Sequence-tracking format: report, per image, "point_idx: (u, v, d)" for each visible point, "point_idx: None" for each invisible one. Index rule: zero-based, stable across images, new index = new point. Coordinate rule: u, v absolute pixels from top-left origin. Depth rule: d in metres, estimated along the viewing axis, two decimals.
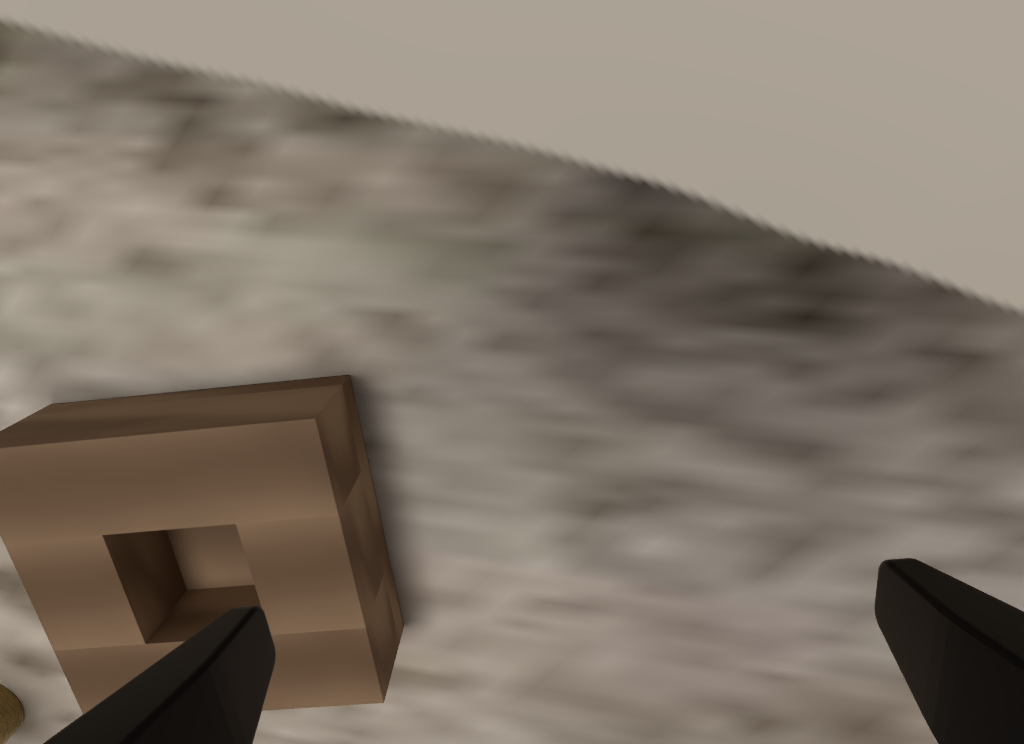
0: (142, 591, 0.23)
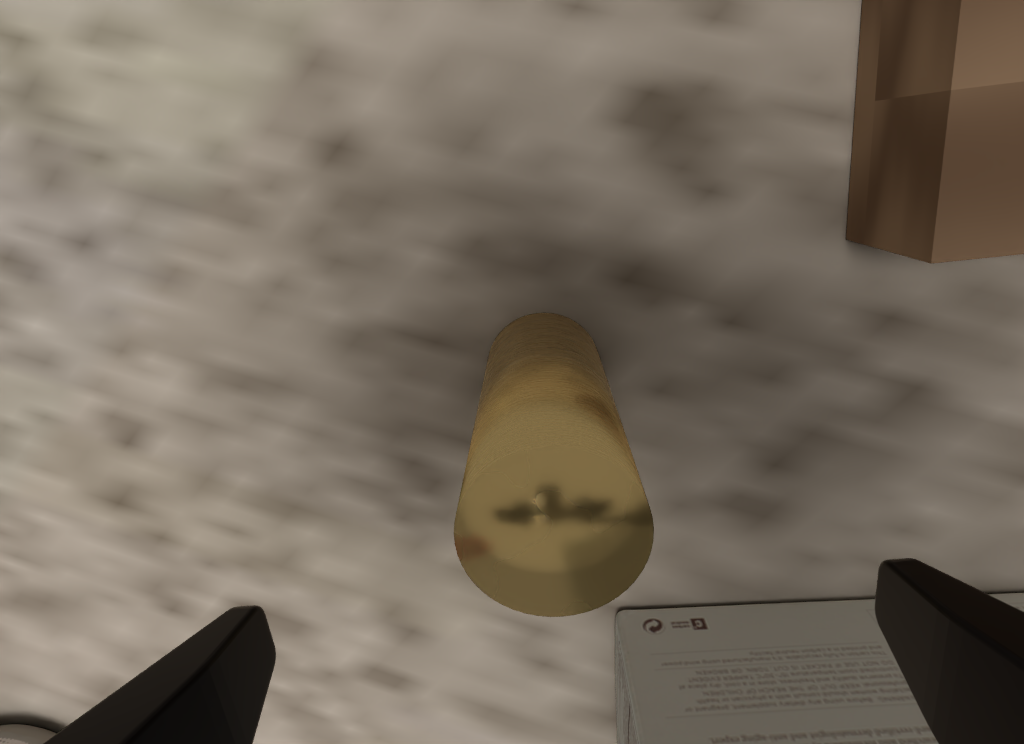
0: None
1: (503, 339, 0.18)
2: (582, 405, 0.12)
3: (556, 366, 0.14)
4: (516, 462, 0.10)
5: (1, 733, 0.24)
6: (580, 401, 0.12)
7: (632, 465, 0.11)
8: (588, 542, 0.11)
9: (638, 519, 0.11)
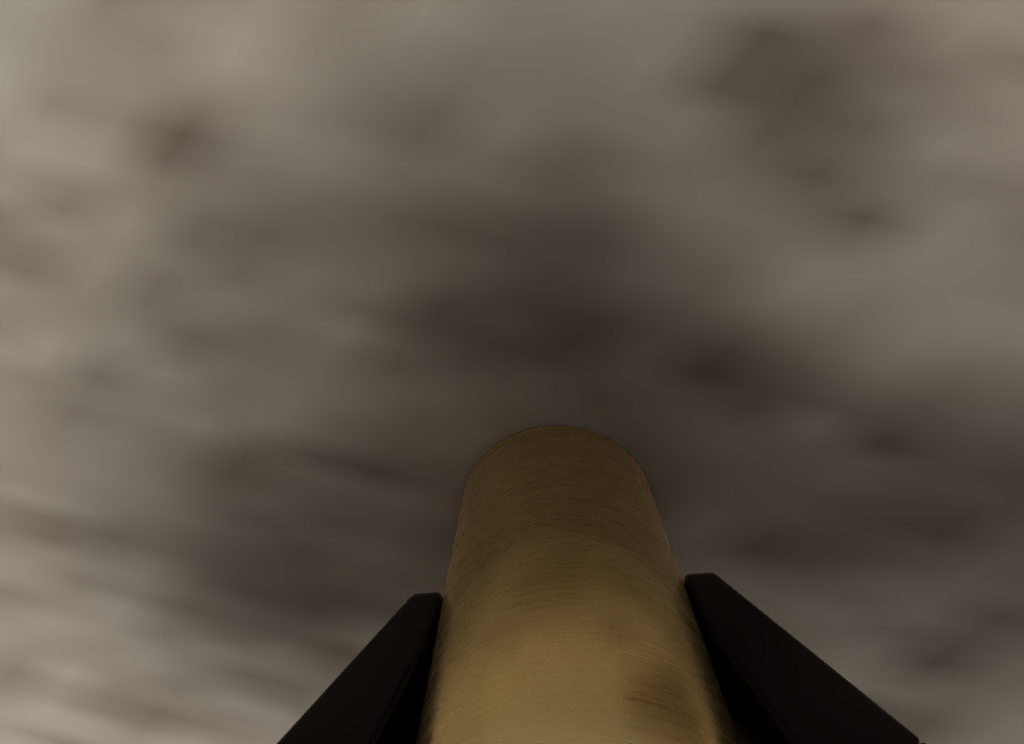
0: None
1: (487, 485, 0.10)
2: None
3: (598, 636, 0.06)
4: None
5: None
6: None
7: None
8: None
9: None
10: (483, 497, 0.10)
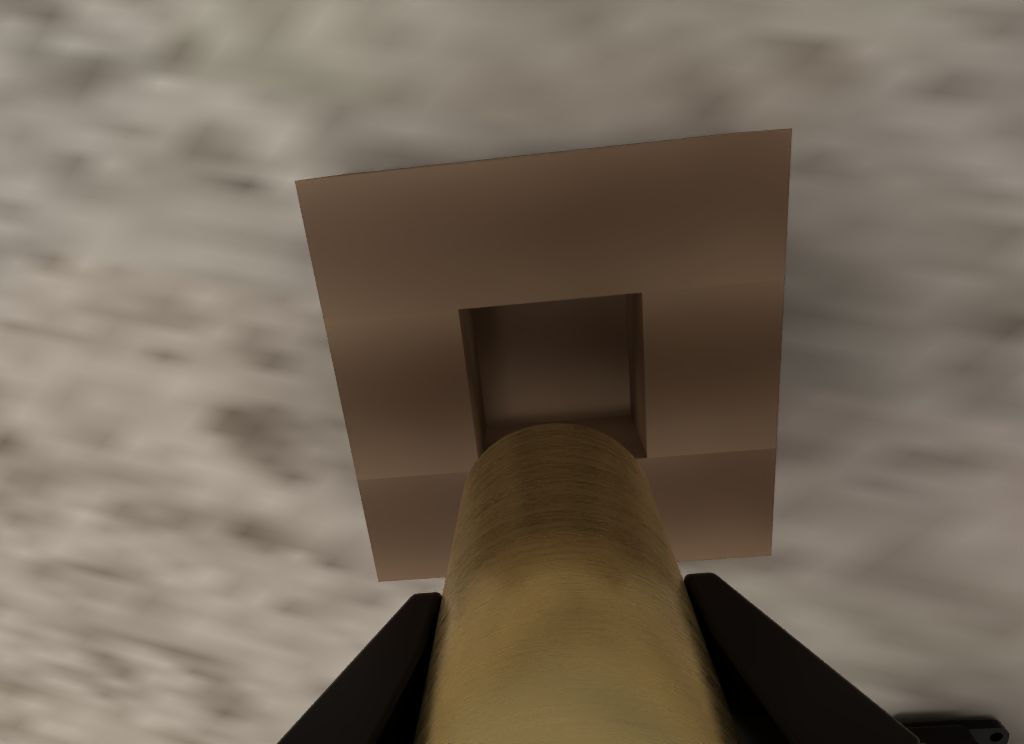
0: (474, 403, 0.18)
1: (486, 482, 0.10)
2: None
3: (598, 632, 0.06)
4: None
5: None
6: None
7: None
8: None
9: None
10: (482, 494, 0.09)
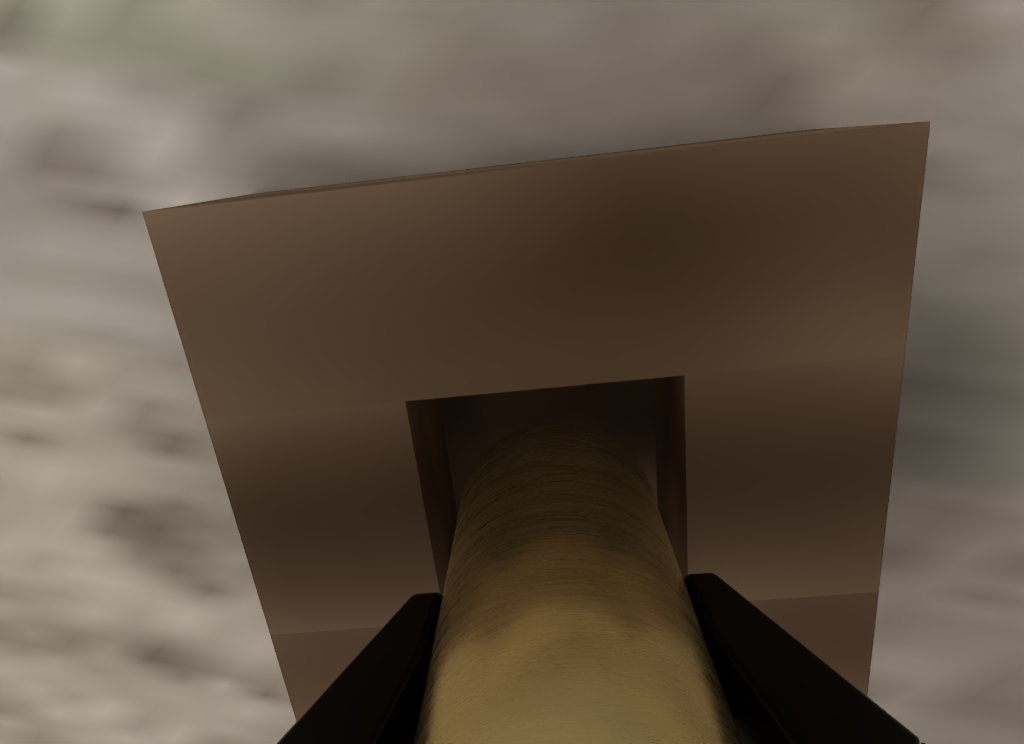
0: (436, 523, 0.12)
1: (486, 482, 0.10)
2: None
3: (598, 631, 0.06)
4: None
5: None
6: None
7: None
8: None
9: None
10: (482, 494, 0.09)
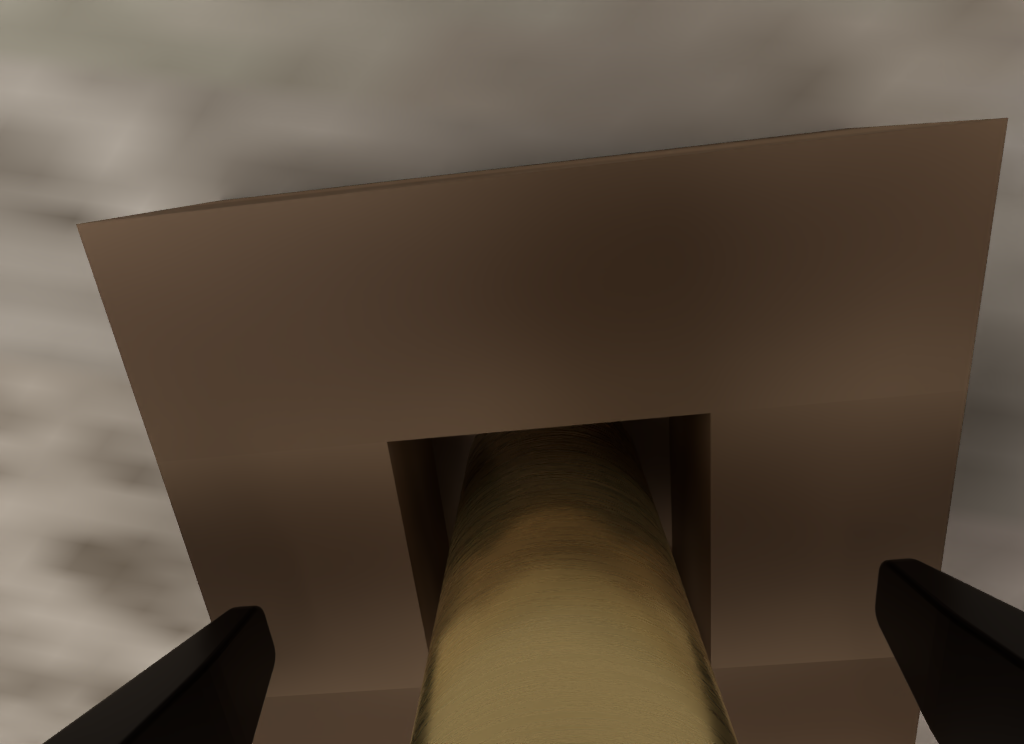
0: (425, 574, 0.11)
1: (490, 440, 0.11)
2: (649, 687, 0.06)
3: (582, 543, 0.07)
4: None
5: None
6: (643, 668, 0.06)
7: None
8: None
9: None
10: (487, 450, 0.11)
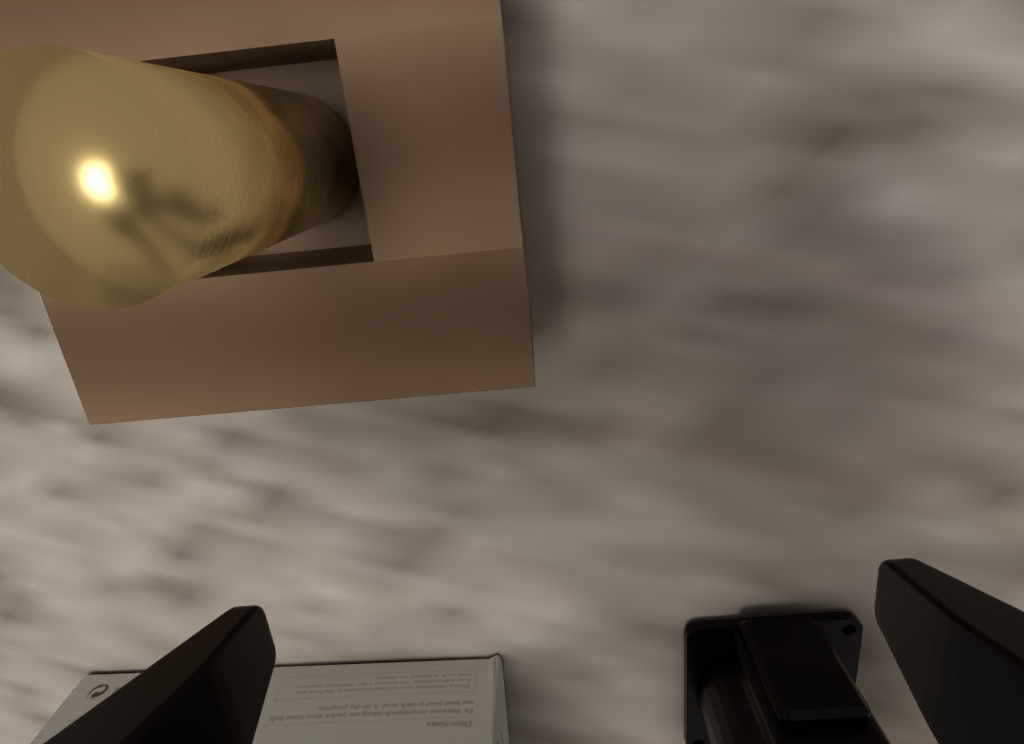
0: None
1: None
2: (175, 70, 0.10)
3: (206, 75, 0.12)
4: (1, 71, 0.08)
5: None
6: (181, 71, 0.10)
7: (200, 115, 0.09)
8: (123, 196, 0.09)
9: (176, 159, 0.08)
10: None
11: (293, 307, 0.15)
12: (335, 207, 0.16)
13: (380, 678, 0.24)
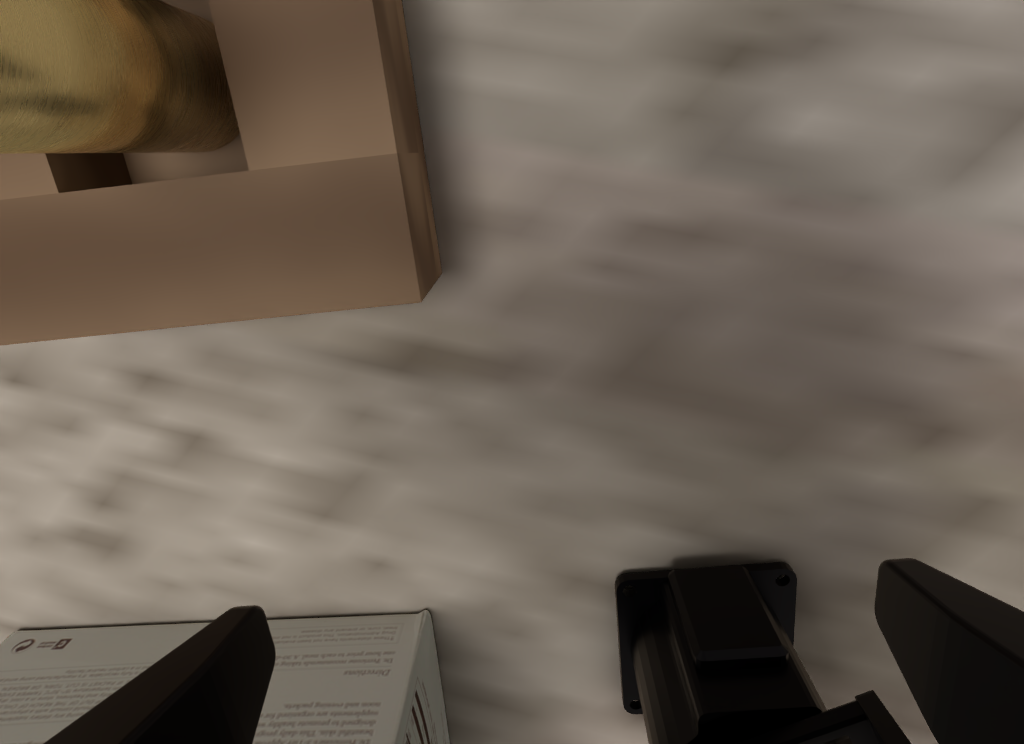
0: None
1: None
2: None
3: None
4: None
5: None
6: None
7: None
8: None
9: None
10: None
11: (171, 220, 0.15)
12: (220, 124, 0.16)
13: (305, 632, 0.23)
